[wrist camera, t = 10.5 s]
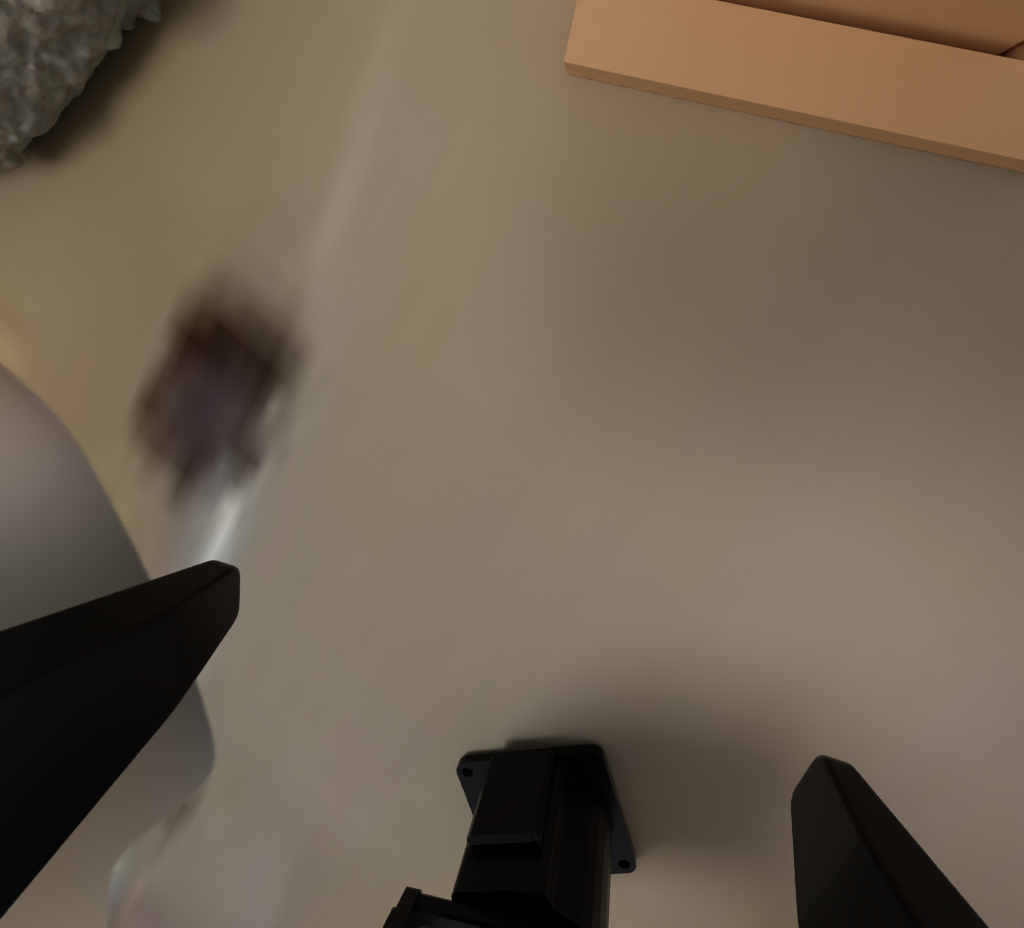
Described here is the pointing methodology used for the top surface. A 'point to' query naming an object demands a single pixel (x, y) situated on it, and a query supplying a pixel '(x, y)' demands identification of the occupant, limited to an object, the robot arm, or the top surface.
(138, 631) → the robot arm
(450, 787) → the top surface
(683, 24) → the orange square socket base
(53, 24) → the elongated rock
